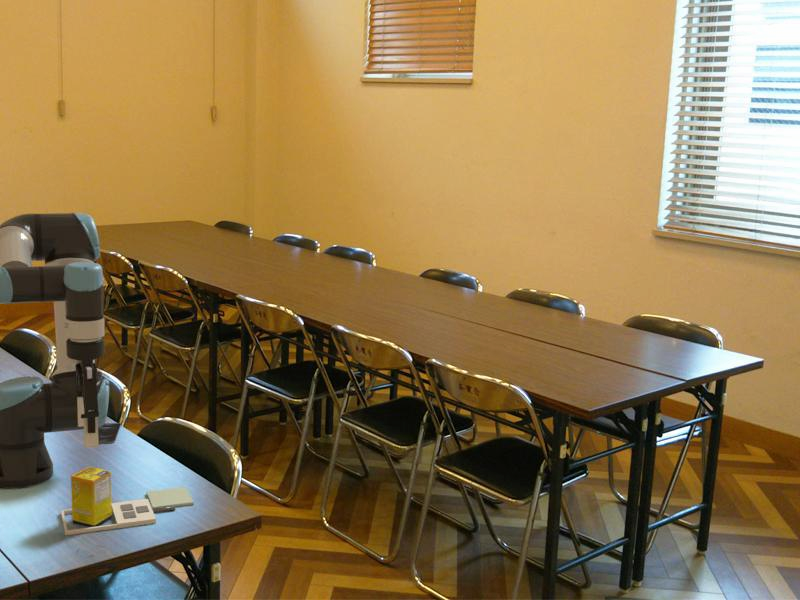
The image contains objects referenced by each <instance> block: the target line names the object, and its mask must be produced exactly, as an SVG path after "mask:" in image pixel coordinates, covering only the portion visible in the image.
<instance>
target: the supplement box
mask: <svg viewBox="0 0 800 600" xmlns="http://www.w3.org/2000/svg"><path fill="white" fill-rule="evenodd" d="M111 475H112V474H111V470H107V469H106V470H105V469H101V468H97V467H92V466H87V467H86V468H84V469H82V470H81V471H78V472H76V473H73V474H72V475H71V476H70V481H71V486H70V489H71V509H72V513H71V514H72V524H74V525H77V526H82V527H84V528H89V527H97V526H102V525H103V524H104V523H106V522H107V521H109V520H110V519H112V518H113V517H112V516H113V512H112V508H111V503H112V486H111V485H112V484H111V482H112V480H111Z"/></svg>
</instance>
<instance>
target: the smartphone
mask: <svg viewBox="0 0 800 600" xmlns="http://www.w3.org/2000/svg"><path fill="white" fill-rule="evenodd" d="M121 427H122V425H121V423H119V422H117V423H111V422H110V423H106V422H105V423H104V425H103V426H101V427H98V445H104V444H105V445H110V444H114V443H116V441H117V438H118V435H119V432H120V429H121Z"/></svg>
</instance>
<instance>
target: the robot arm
mask: <svg viewBox="0 0 800 600" xmlns="http://www.w3.org/2000/svg"><path fill="white" fill-rule="evenodd" d="M97 229H98V228H97V225H96V223H95V220H94V218H93V217H92V216H91V215H89V214H87V213H75V212H71V213H63V212H62V213H59V212H58V213H22V214H20V215H16V216H13V217H11V218H8V219H7V220H5V221H4V222H1V224H0V304H4V305H10V304H22V303H23V304H26V303H29V304H30V303H50V302H53V309H54V311H53V312H54V313H53V314H54V328H55V345H56V346H55V347H56V360H57V361H56V364H57V368H56V369H55V371H54V372H53V373H52V374H51V375H50V377H51V378H50V379H51V382H49V383H44V381H43V380H42V379H41V377H38V376H29V375H27V376H19V377H15V378H10V379H7V380H4V381H2V382H0V488H1V489H20V488H27V487H31V486H32V487H33V486H37V485H39V484H42V483H44V482H46V481H47V480H50V479H51V478H52V476H53V475H54V463H53V461H52V458H51V456H50V453H49V450H48V448H47V446H46V444H45V434H46V433H47V434H48V433H57V432H69V431H79V430H83V442H84V443H83V447H84V448H85V449H88V448H89V449H90V448H99V445H100V444H98V427H101V426H103V425H104V423H106V421H107V417H108V409H109V401H110V399H109V398H110V381H109V379H107V378H103V373H102V370H100V369H99V368H98V366H97V365H96V362H95V360H96V359H100V358H101V359H102V358H103V357H104V356H105V353H106V352H105V351H106V349H105V346H106V345H105V338H104V336H105V334H106V333H105V331H106V330H105V315H104V314H105V313H104V283H105V279H104V274H103V273H104V272H103V267H102V265H101V264H99V263H96V262H95V261H97V260H99V259H100V257H101V248H100V240H99V235H98V230H97ZM33 261H36V262H37V261H38V262H39V261H41V262H42V261H43V262H44V266H42V265H41V266H40V265H39V266H33Z"/></svg>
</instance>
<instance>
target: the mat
mask: <svg viewBox="0 0 800 600" xmlns="http://www.w3.org/2000/svg"><path fill="white" fill-rule="evenodd" d="M146 496H147V499H148V498H149V499H148V500H149V503H150V505H151V508H152V509H154V508H162V507H170V506H175V508H177V507H178V508H179V507H185V506H191V505H195V502H194V500H193V498H192V496H191V493H189V490H188V487H187V486H182V487H174V488H173V487H172V488H166V489H157V490H150V491H146Z"/></svg>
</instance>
